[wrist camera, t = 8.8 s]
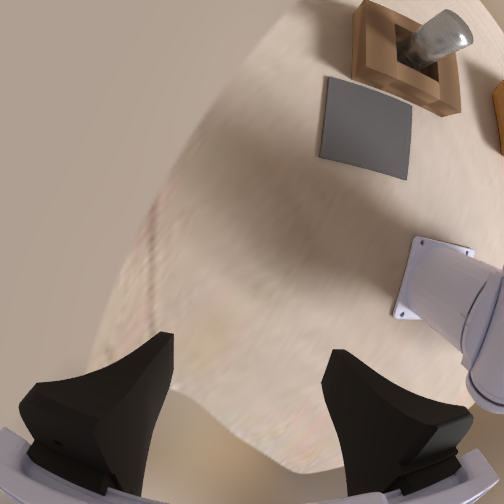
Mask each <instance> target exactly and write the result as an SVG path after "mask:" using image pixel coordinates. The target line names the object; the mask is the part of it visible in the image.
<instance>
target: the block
mask: <svg viewBox="0 0 504 504" xmlns="http://www.w3.org/2000/svg"><path fill="white" fill-rule="evenodd" d="M421 26H422V25H421V24H419V23H417V22H415V21H413V20H411V19H409V18H407V17H405V16H403V15H401V14H399V13H397V12H395V11H393V10H391V9H388V8H386V7H384V6H381V5H379V4H377V3H374V2H372V1H369V0H363V2H362V3H361V4H360V6H359V7H358V8H357V10H356V11H355V13H354V14H353V59H352V80H355V81H358V82H361V83H364V84H367V85H370V86H372V87H375V88H378V89H381V90H383V91H386V92H388V93H391V94H393V95H396V96H398V97H400V98H403V99H405V100H407V101H410V102H412V103H414V104H416V105H418V106H420V107H423V108H425V109H427V110H429V111H431V112H433V113H435V114H437V115H438V116H440V117H444V116H448V115H452V114H457V113H461V98H460V85H459V76H458V67H457V60H456V54H455V52H454V53H452V54H450V55H448V56H446V57H444V58H442V59H440V60H438V61H436V62H434V63H433V64H431V65H429V66H427V67H425V68H423V69H421V70H420V72H418V71H416V70H414V69H412V68H410V67H408V66H406V65H404V64H401V63H399V62H397V50H396V44H399V43H400V42H401V41H403V40H404V39H405V38H406V37H408V36H409V35H410V34H412V33H413V32H414V31H416V30H417V29H418V28H420V27H421Z"/></svg>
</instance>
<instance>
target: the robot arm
mask: <svg viewBox="0 0 504 504" xmlns="http://www.w3.org/2000/svg"><path fill="white" fill-rule="evenodd" d="M421 241H422V244H420V242H421ZM402 312H403V313H402ZM401 313H402V315H400V314H401ZM393 317H394V318H395V319H421V320H424V321H425V322H426V323H427V324H428V325H430V326H431V327H432V328H433V329H434V330H436V331H437V332H438V333H439V334H440V335H442V336H443V337H444V338H445V339H446V340H447V341H448V342H450V343H451V344H452V345H453V346H454V347H455V348H457V349H458V350H459V351H460V352H461V353H462V354H463V358H462V361H461V364H462V365H463V366H464V367H465V368H466V369H467V370H468V373H467V376H466V387H467V389H468V392H469V394H470V395H471V397H472V398H473V400H474V401H475V402H476V403H477V404H478V405H479V406H480V407H482V408H483V409H485V410H487V411H489V412H492V413H498V414H504V265H503V269H502V270H501V269H498V268H496V267H494V266H491V265H489V264H487V263H484V262H482V261H479V260H477V259H475V258H474V250H473V249H469V248H466V247H462V246H458V245H454V244H450V243H446V242H442V241H437V240H433V239H429V238H425V237H420V236H415V237H414V238H413V241H412V245H411V250H410V254H409V258H408V262H407V266H406V270H405V274H404V278H403V281H402V285H401V288H400V292H399V295H398V298H397V301H396V305H395V308H394V311H393ZM173 370H174V334H172V333H166V332H159V333H158V334H156V335H155V336H154V337H152V338H151V339H150V340H148V341H147V342H146V343H144V344H143V345H142V346H140V347H139V348H138V349H136V350H135V351H133V352H132V353H130V354H129V355H127V356H125V357H124V358H122V359H120V360H119V361H117V362H115V363H113V364H111V365H109V366H107V367H105V368H102V369H100V370H97V371H94V372H91V373H89V374H86V375H83V376H79V377H75V378H71V379H66V380H60V381H52V382H42V383H36V384H35V385H34V387H33V388H32V389H31V390H30V391H29V393H28V394H27V395H26V396H25V398H24V399H23V400H22V401H21V402H20V404H19V411H20V415H21V417H22V419H23V421H24V423H25V425H26V427H27V428H28V430H29V432H30V433H31V435H32V437H33V438H34V442H33V444H32V445H30V444H29V443H28V442H27V441H26V440H24V439H23V438H22V437H20V436H18V435H17V434H15V433H14V432H12V431H11V430H9V429H8V428H6V427H3V428H2V429H1V431H0V490H1V491H2V492H3V493H4V494H5V495H6V496H7V497H9V498H10V499H11V500H12V501H14V502H15V503H17V504H168V503H163V502H159V501H154V500H150V499H146V498H142V497H141V493H142V492H141V491H142V485H143V478H144V472H145V466H146V460H147V456H148V451H149V446H150V442H151V438H152V433H153V429H154V427H155V423H156V421H157V418H158V416H159V413H160V410H161V408H162V405H163V403H164V400H165V398H166V395H167V392H168V390H169V387H170V383H171V379H172V374H173ZM321 384H322V390H323V395H324V399H325V402H326V405H327V408H328V411H329V413H330V416H331V419H332V421H333V424H334V427H335V429H336V432H337V435H338V438H339V441H340V446H341V450H342V455H343V460H344V466H345V472H346V481H347V492H348V497H346V498H341V499H335V500H329V501H322V502H315V503H306V504H473V503H474V502H475V501H476V500H478V499H479V498H480V497H481V496H482V495H484V494H485V493H486V492H487V491H488V490H489V489H490V488H491V487H492V486H494V485H495V484H496V483H497V482H498V481H499V478H498V476H497V475H496V473H495V472H494V470H493V469H492V467H491V466H490V465H489V463H488V462H487V460H486V459H485V458H484V456H483V455H482V453H481V452H480V451H479V450H478V448H477V449H474V450H473V451H471V452H469V453H467V454H465V455H463V456H462V457H460V458H459V459H457V458H456V456H455V455H457V453H458V450H457V449H456V446H457V444H458V443H459V442H460V441H461V440H462V438H463V437H464V436H465V435H466V433H467V432H468V430H469V429H470V427H471V425H472V423H473V419H474V417H473V415H472V414H471V413H470V412H469V411H468V409H467V408H466V407H464V406H458V405H451V404H446V403H442V402H438V401H434V400H431V399H427V398H425V397H422V396H419V395H417V394H414V393H412V392H410V391H407V390H406V389H404V388H402V387H400V386H398V385H396V384H394V383H392V382H391V381H389V380H388V379H386V378H384V377H383V376H381V375H380V374H378V373H377V372H375V371H374V370H373V369H371V368H370V367H368V366H367V365H366V364H364V363H363V362H362V361H360V360H359V359H358V358H356V357H355V356H354V355H352V354H351V353H349V352H348V351H346V350H342V349H333V350H332V353H331V356H330V359H329V362H328V365H327V368H326V371H325V373H324V376H323V379H322V382H321Z"/></svg>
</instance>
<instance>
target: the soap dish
mask: <svg viewBox="0 0 504 504" xmlns="http://www.w3.org/2000/svg"><path fill="white" fill-rule="evenodd" d="M492 96H493V101H494V106H495V111H496V116H497V122H498V128H499V135H500V143H501V154H502V156H504V80H502V81H501V83H500V84H499V85H498V87H497V88H496V89H495V91H494V92H493V94H492Z"/></svg>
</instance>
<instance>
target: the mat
mask: <svg viewBox="0 0 504 504" xmlns="http://www.w3.org/2000/svg"><path fill="white" fill-rule="evenodd" d="M411 126H412V106H411V105H409V104H407V103H404V102H402V101H400V100H397V99H395V98H392V97H390V96H387V95H385V94H382V93H380V92H377V91H374V90H371V89H368V88H366V87H363V86H360V85H357V84H354V83H350V82H347V81H344V80H341V79H337V78H334V77H330V76H329V78H328V87H327V97H326V107H325V116H324V125H323V133H322V141H321V148H320V156H319V157H320V158H325V159H329V160H334V161H338V162H342V163H346V164H350V165H354V166H358V167H362V168H366V169H369V170H373V171H376V172H380V173H383V174H387V175H390V176H393V177H397V178H400V179H403V180H407V174H408V165H409V155H410V143H411Z"/></svg>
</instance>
